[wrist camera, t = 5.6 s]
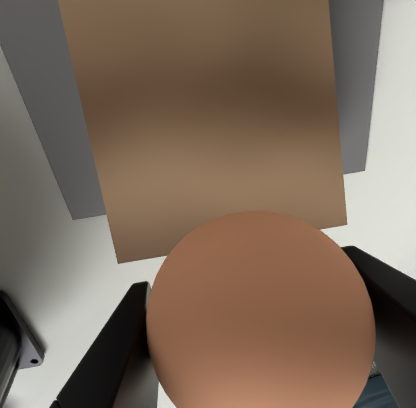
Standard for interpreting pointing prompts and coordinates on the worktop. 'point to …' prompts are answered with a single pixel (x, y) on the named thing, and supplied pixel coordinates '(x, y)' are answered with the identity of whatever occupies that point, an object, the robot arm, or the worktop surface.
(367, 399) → the canister
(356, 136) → the lane
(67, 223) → the worktop surface
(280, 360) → the ball
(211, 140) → the ramp
